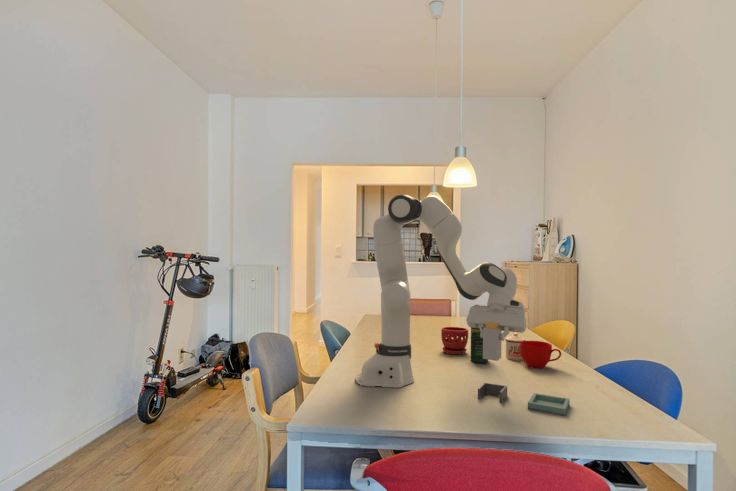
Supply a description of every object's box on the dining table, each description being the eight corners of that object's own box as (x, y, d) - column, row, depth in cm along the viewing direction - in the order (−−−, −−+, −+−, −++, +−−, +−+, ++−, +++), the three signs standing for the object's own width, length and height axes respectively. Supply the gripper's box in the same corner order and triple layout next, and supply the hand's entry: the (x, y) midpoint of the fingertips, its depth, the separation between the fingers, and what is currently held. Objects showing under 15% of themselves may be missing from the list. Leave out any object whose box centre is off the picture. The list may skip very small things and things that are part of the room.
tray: (527, 409, 139) (527, 402, 139) (534, 399, 149) (534, 392, 149) (565, 416, 134) (565, 409, 134) (569, 405, 143) (569, 398, 143)
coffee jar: (488, 364, 194) (488, 322, 194) (470, 363, 196) (470, 321, 196) (488, 359, 204) (488, 319, 204) (470, 357, 206) (470, 318, 206)
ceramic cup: (557, 374, 179) (557, 349, 179) (515, 367, 189) (515, 344, 189) (564, 367, 189) (564, 344, 189) (525, 361, 200) (525, 339, 200)
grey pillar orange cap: (482, 358, 150) (483, 323, 150) (486, 355, 154) (487, 321, 154) (497, 360, 147) (498, 325, 147) (501, 357, 151) (501, 323, 151)
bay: (477, 398, 149) (477, 388, 149) (484, 392, 156) (484, 382, 156) (501, 403, 145) (501, 392, 145) (507, 396, 152) (507, 386, 152)
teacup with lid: (506, 360, 202) (506, 334, 202) (504, 355, 211) (504, 331, 211) (534, 361, 200) (534, 335, 200) (530, 356, 208) (530, 332, 209)
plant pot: (470, 355, 210) (471, 330, 210) (443, 355, 210) (443, 330, 210) (465, 349, 223) (465, 325, 223) (439, 349, 223) (439, 325, 223)
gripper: (469, 299, 162) (460, 329, 153) (527, 303, 151) (521, 336, 143) (472, 309, 166) (464, 340, 157) (529, 314, 155) (523, 347, 147)
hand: (491, 338), depth 150 cm, fingers closed on grey pillar orange cap, 5 cm apart
